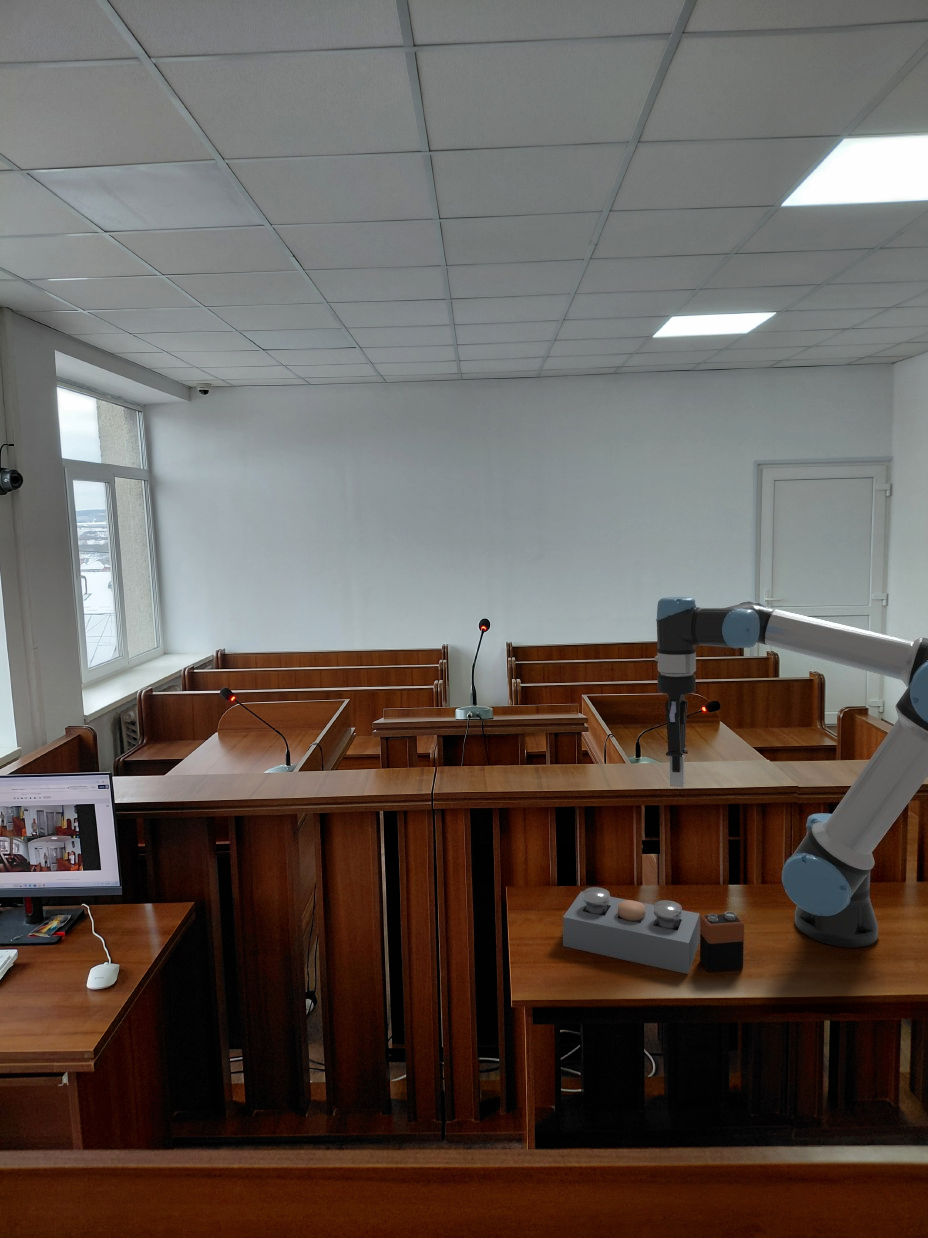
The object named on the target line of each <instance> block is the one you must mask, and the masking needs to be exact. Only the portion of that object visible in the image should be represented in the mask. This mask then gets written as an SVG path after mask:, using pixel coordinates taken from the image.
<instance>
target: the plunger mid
mask: <svg viewBox="0 0 928 1238" xmlns="http://www.w3.org/2000/svg"><path fill="white" fill-rule="evenodd" d="M640 902H641V901H636V900H633V899H632V900H631V899H625V901H622V902H620V903H619V904H618V915H619V916H620V917H621V919H623V920H628V921H633V922H638V923H641V921H642V919H643V918H644V917H645V906H644V905H643V904H642V903H643V902H641V903H640Z"/></svg>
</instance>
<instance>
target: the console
mask: <svg viewBox="0 0 928 1238" xmlns="http://www.w3.org/2000/svg"><path fill="white" fill-rule="evenodd" d="M583 892H584V890H583V891H582V890H581V891H580V892H579V894H578V895H577V896H576V898H575V899H574V901H573V903H571V905H570V907H569V908H568V909H567V911H566V912H565V914H563V916H562V947H566V948H570V949H575V950H579V951H583V952H587V953H588V952H589V953H592V954H597V955H601V956H606V957H610V958H615V959H618V960H623V961H627V962H632V963H637V964H641V965H647V966H651V967H655V968H659V969H664V970H667V971H668V970H669V971H673V972H677V973H680V974H681V973H682V974H687V975H689V974H690V971H691V968H692V965H693V962H694V960H695V957H696V954H697V952H698V951H697V950H698V947H699V946H700V918H701V914H700V913H699V912H693V911H690V910H683V909H682V917H681V918H680V919H679V923H678V931H677V930H672V929H667V928H662V927H657V917H656V916H655V915H654V904H651V903H645V902H641V901H639V902H640V903H642V904H643V905H644V906H645V917H644V918H643V919H642V921H641V923H638V922H633V921H628V920H623V919H621V917H620V916H619V915H618V904H619V903H620V902H622V901H625V900H626V899H625V898H619V897H614V896H610V902H609V904H608V905H607V913H606V914H605V916H603V915H598V914H593V913H588V912H586V903H585V902H584V901H583Z"/></svg>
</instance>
